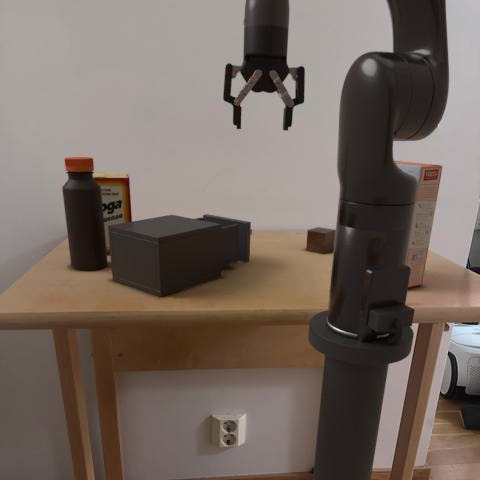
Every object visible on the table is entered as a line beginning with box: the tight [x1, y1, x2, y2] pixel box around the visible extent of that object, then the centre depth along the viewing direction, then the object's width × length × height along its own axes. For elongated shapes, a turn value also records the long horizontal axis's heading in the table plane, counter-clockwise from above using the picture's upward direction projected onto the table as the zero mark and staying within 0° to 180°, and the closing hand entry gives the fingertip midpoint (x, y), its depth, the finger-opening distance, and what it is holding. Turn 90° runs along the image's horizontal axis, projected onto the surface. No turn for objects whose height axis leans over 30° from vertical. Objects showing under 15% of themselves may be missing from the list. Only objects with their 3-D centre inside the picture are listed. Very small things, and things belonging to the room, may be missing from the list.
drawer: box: [195, 213, 253, 268], centre depth 95 cm, size 18×12×8 cm, turn 140°
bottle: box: [61, 156, 108, 271], centre depth 91 cm, size 7×7×20 cm
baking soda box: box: [93, 172, 133, 255], centre depth 103 cm, size 10×6×16 cm
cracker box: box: [394, 160, 443, 289], centre depth 87 cm, size 14×6×21 cm, turn 32°
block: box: [305, 226, 336, 254], centre depth 109 cm, size 5×5×5 cm
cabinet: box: [108, 214, 222, 298], centre depth 86 cm, size 15×13×10 cm
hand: (262, 129), depth 88 cm, fingers open, 8 cm apart
